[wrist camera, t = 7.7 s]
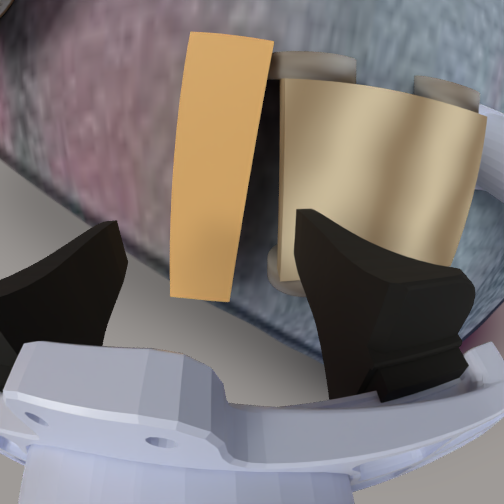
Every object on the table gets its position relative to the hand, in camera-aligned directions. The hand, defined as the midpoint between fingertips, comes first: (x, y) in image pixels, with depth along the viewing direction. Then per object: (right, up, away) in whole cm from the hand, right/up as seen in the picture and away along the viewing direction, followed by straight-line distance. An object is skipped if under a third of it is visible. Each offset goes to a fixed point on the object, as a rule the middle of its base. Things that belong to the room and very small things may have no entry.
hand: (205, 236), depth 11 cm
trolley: (+10, +6, +8) cm, 14 cm away
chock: (-1, +6, +8) cm, 10 cm away
